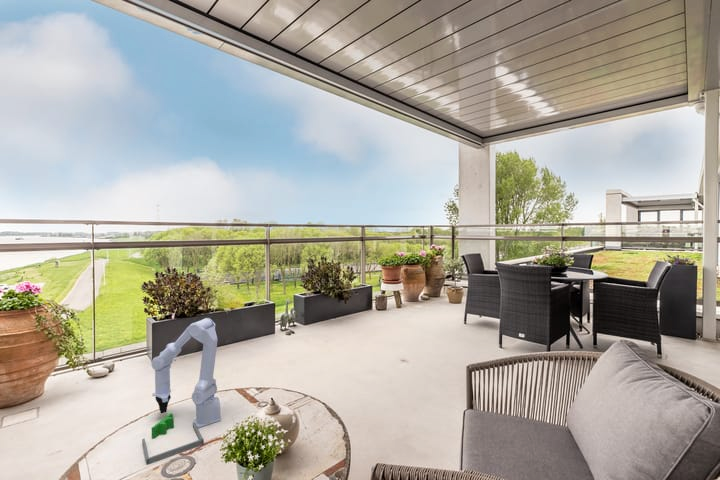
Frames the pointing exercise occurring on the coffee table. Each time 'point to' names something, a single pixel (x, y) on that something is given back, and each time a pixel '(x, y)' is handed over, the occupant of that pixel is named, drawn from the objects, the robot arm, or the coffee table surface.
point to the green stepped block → (163, 426)
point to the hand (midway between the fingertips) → (163, 412)
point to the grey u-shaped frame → (173, 451)
